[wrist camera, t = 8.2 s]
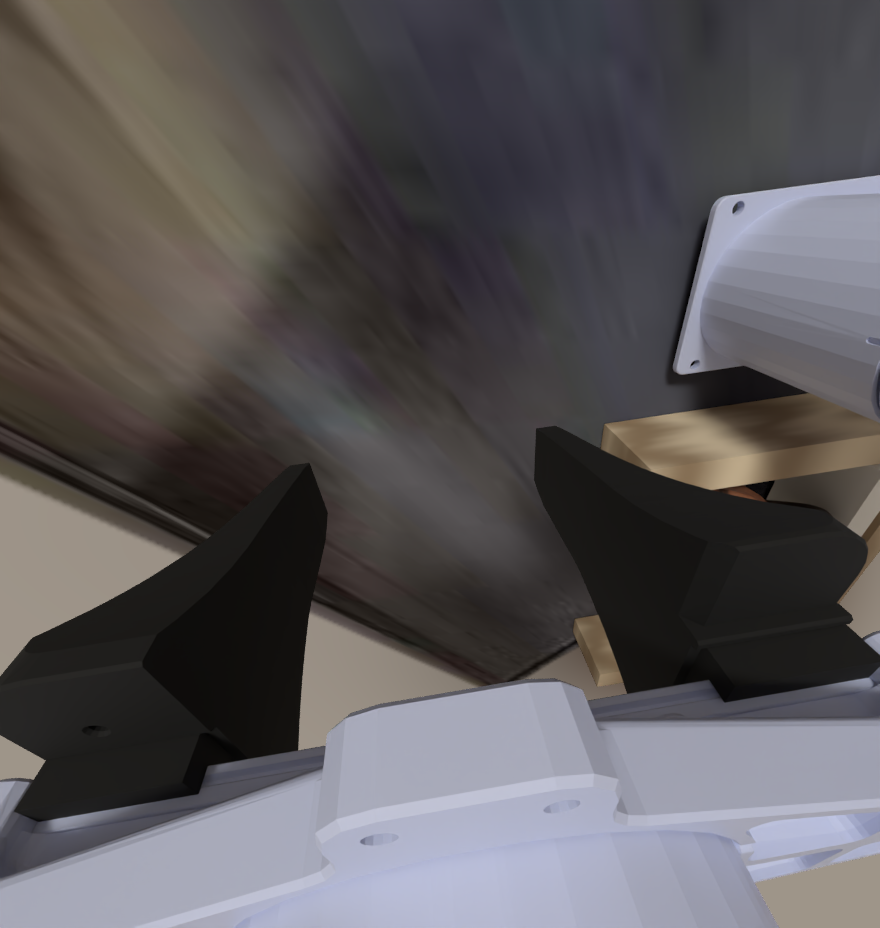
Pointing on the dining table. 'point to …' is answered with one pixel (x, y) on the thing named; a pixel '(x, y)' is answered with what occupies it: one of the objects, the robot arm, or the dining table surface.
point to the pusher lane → (737, 465)
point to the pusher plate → (836, 494)
